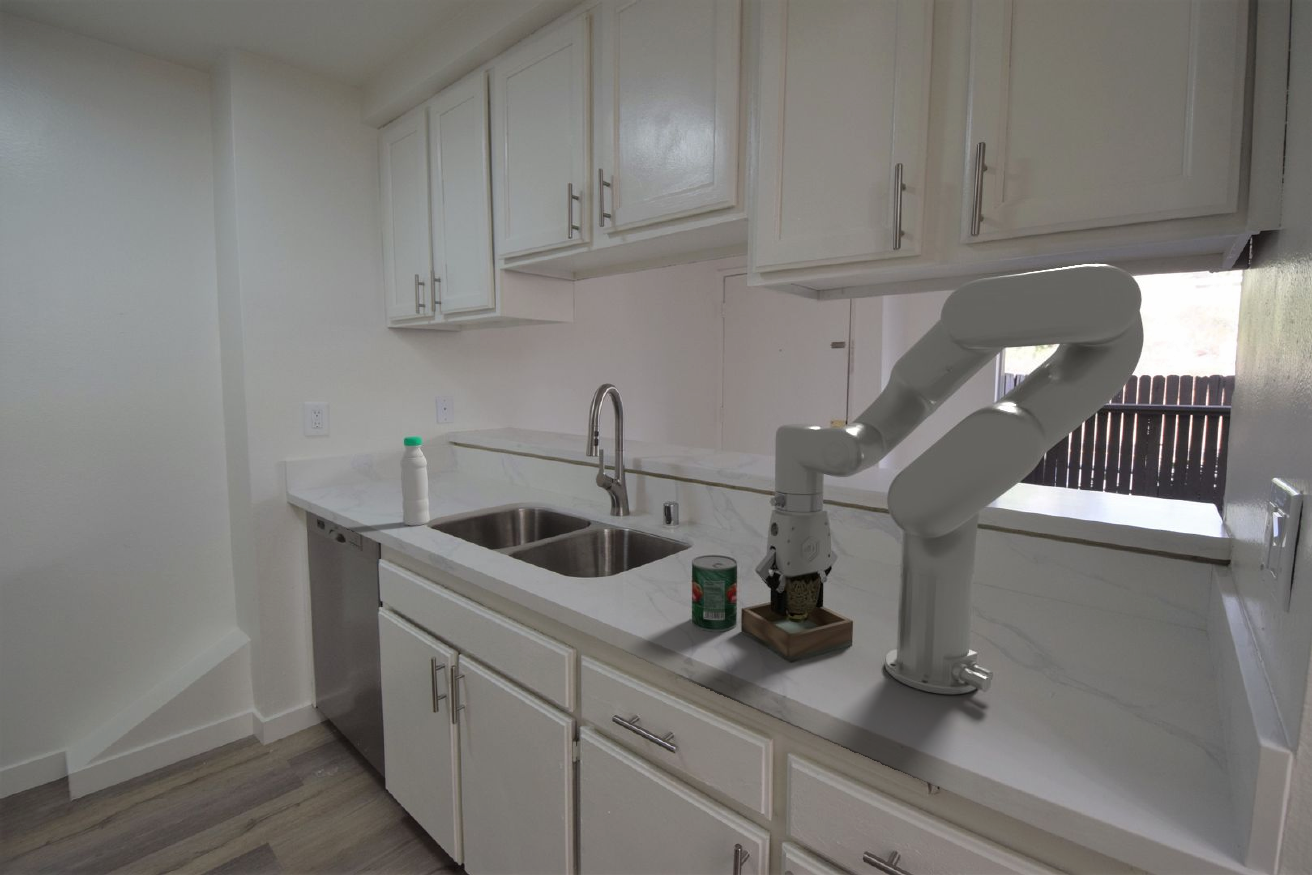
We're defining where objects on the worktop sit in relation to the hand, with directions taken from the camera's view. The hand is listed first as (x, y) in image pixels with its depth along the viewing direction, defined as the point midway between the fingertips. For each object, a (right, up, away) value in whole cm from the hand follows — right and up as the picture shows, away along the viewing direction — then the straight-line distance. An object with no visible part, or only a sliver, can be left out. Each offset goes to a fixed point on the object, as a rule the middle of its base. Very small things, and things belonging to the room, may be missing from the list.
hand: (797, 608), depth 101 cm
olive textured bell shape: (0, -2, 0) cm, 2 cm away
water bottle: (-92, +3, +78) cm, 121 cm away
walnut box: (0, -5, +1) cm, 5 cm away
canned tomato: (-13, -5, +7) cm, 15 cm away
